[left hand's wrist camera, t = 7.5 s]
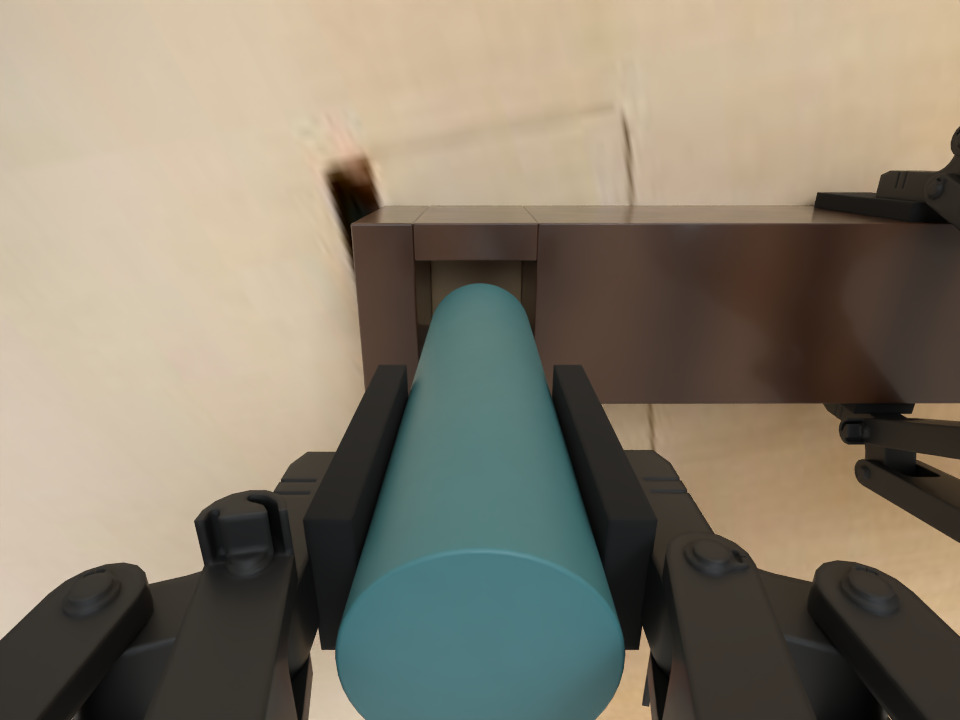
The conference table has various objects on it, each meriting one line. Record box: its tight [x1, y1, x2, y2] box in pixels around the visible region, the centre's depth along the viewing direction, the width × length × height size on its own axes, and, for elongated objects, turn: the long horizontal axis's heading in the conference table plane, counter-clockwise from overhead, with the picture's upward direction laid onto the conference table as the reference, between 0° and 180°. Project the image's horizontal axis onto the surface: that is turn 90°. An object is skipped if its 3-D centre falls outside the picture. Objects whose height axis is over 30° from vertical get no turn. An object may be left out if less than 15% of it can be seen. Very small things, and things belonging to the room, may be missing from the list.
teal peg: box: [335, 283, 625, 720], centre depth 14 cm, size 4×4×15 cm
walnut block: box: [351, 206, 960, 404], centre depth 26 cm, size 28×8×8 cm, turn 90°
